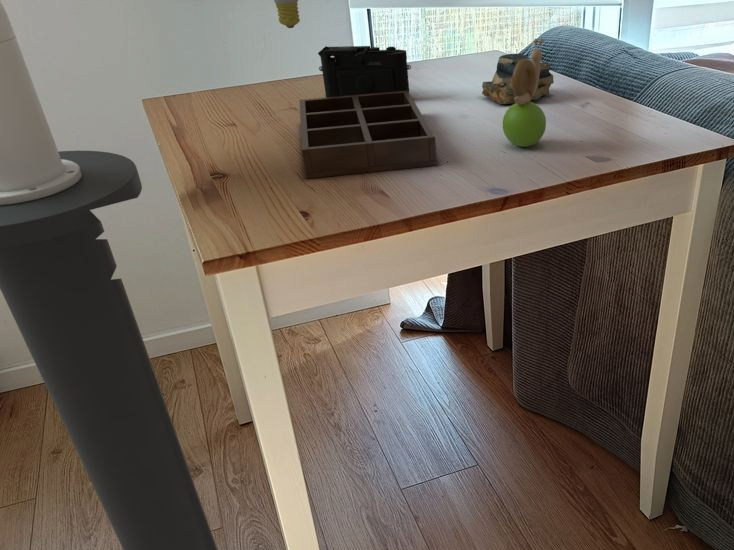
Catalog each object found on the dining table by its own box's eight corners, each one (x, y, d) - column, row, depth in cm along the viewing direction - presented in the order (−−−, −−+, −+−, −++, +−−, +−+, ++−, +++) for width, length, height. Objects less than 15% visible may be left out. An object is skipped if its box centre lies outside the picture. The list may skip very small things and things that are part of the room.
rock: (477, 98, 107) (476, 59, 104) (524, 88, 111) (525, 50, 108) (511, 110, 101) (511, 69, 98) (560, 98, 105) (561, 59, 102)
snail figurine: (555, 140, 89) (559, 40, 82) (533, 155, 84) (536, 50, 78) (518, 134, 91) (519, 36, 85) (494, 148, 87) (494, 46, 80)
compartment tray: (306, 178, 80) (301, 149, 78) (303, 124, 98) (299, 99, 97) (436, 165, 82) (435, 137, 81) (409, 114, 101) (407, 90, 99)
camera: (417, 91, 112) (413, 37, 107) (411, 102, 106) (407, 47, 102) (331, 92, 113) (323, 39, 109) (320, 104, 107) (312, 49, 103)
